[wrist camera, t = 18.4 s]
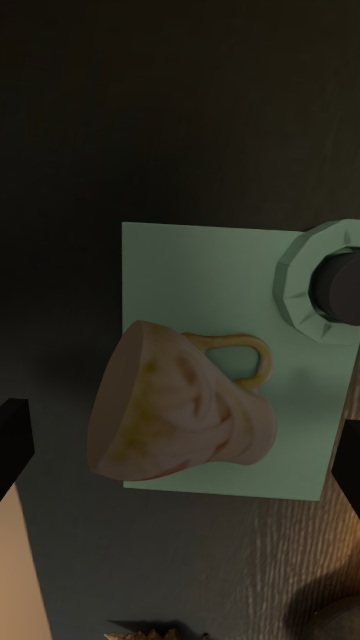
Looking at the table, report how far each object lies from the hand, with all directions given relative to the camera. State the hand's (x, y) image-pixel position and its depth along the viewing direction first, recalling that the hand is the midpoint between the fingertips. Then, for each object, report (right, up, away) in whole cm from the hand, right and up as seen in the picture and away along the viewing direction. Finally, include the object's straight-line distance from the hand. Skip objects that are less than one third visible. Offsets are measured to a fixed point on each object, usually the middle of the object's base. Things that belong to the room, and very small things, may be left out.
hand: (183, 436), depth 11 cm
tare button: (+8, +7, +2) cm, 11 cm away
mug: (+1, +1, +6) cm, 6 cm away
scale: (+3, +2, +7) cm, 8 cm away
